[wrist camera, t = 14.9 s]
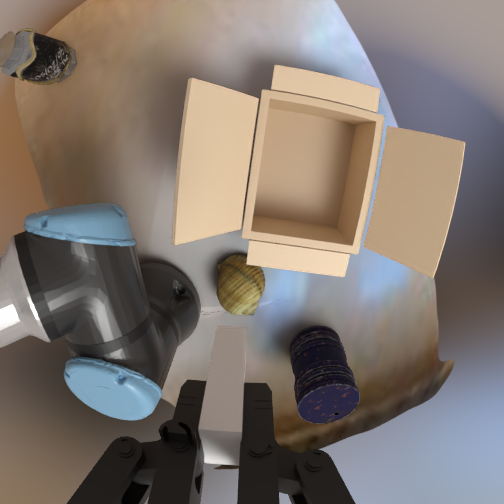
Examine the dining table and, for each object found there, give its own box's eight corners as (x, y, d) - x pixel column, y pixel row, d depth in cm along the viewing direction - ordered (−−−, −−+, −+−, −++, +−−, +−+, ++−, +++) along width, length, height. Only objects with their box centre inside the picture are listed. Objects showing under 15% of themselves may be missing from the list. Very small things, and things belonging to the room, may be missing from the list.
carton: (242, 241, 45) (238, 263, 37) (264, 79, 37) (266, 63, 28) (335, 254, 46) (351, 278, 37) (363, 100, 37) (387, 91, 29)
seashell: (234, 253, 51) (197, 281, 47) (244, 239, 44) (201, 270, 41) (270, 297, 50) (235, 327, 47) (285, 290, 43) (245, 324, 40)
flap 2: (432, 278, 28) (433, 277, 28) (464, 141, 22) (465, 143, 23) (363, 246, 35) (365, 246, 35) (387, 126, 30) (388, 127, 30)
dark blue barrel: (279, 341, 52) (284, 402, 38) (326, 316, 50) (346, 373, 36) (304, 372, 55) (314, 430, 41) (348, 350, 53) (369, 406, 39)
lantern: (82, 74, 36) (-27, 49, 12) (48, 95, 36) (-58, 89, 13) (77, 36, 33) (-19, -1, 9) (44, 58, 34) (-53, 38, 10)
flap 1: (192, 77, 22) (188, 78, 22) (174, 245, 27) (171, 243, 27) (258, 98, 29) (255, 98, 30) (240, 229, 35) (237, 228, 35)
